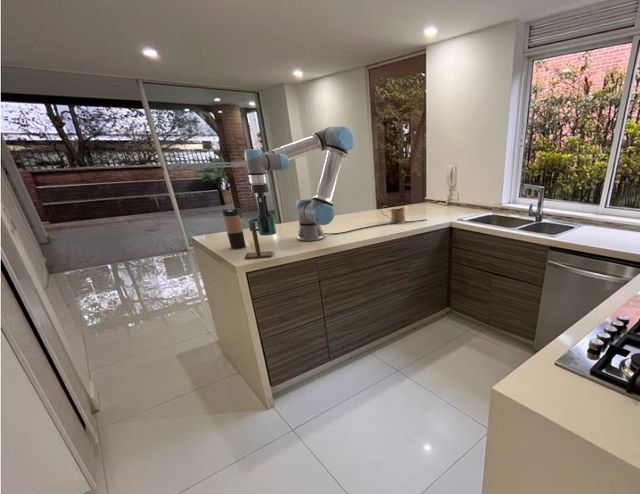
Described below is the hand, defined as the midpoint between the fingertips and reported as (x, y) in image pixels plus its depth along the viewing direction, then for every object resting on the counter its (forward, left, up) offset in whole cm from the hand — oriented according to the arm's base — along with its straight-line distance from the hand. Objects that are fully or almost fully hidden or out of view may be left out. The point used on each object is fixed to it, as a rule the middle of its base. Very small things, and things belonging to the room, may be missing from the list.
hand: (267, 230), depth 173 cm
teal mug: (+2, 0, -2) cm, 3 cm away
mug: (-80, -57, -12) cm, 98 cm away
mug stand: (+5, +2, -12) cm, 13 cm away
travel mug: (+18, -17, -12) cm, 27 cm away
